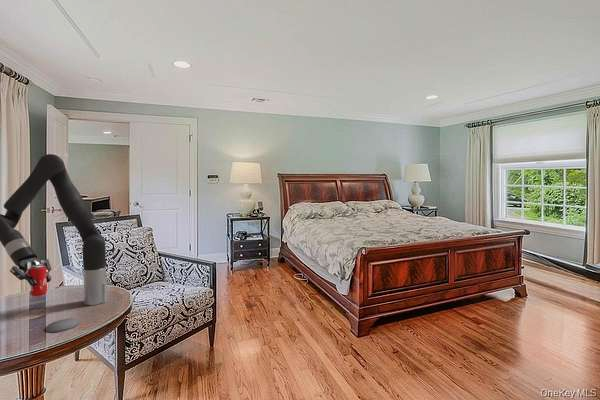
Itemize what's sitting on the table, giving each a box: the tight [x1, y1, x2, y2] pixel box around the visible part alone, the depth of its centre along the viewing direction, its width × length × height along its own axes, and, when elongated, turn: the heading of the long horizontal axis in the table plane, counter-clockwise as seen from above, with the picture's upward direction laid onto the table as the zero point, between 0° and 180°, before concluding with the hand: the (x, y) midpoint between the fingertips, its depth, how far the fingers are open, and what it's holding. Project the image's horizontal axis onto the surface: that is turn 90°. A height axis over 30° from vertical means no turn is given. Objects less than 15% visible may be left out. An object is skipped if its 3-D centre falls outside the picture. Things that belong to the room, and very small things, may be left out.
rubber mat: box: [45, 318, 80, 333], centre depth 129 cm, size 11×11×1 cm
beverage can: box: [29, 264, 48, 298], centre depth 128 cm, size 5×5×12 cm
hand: (42, 282), depth 128 cm, fingers closed on beverage can, 5 cm apart
